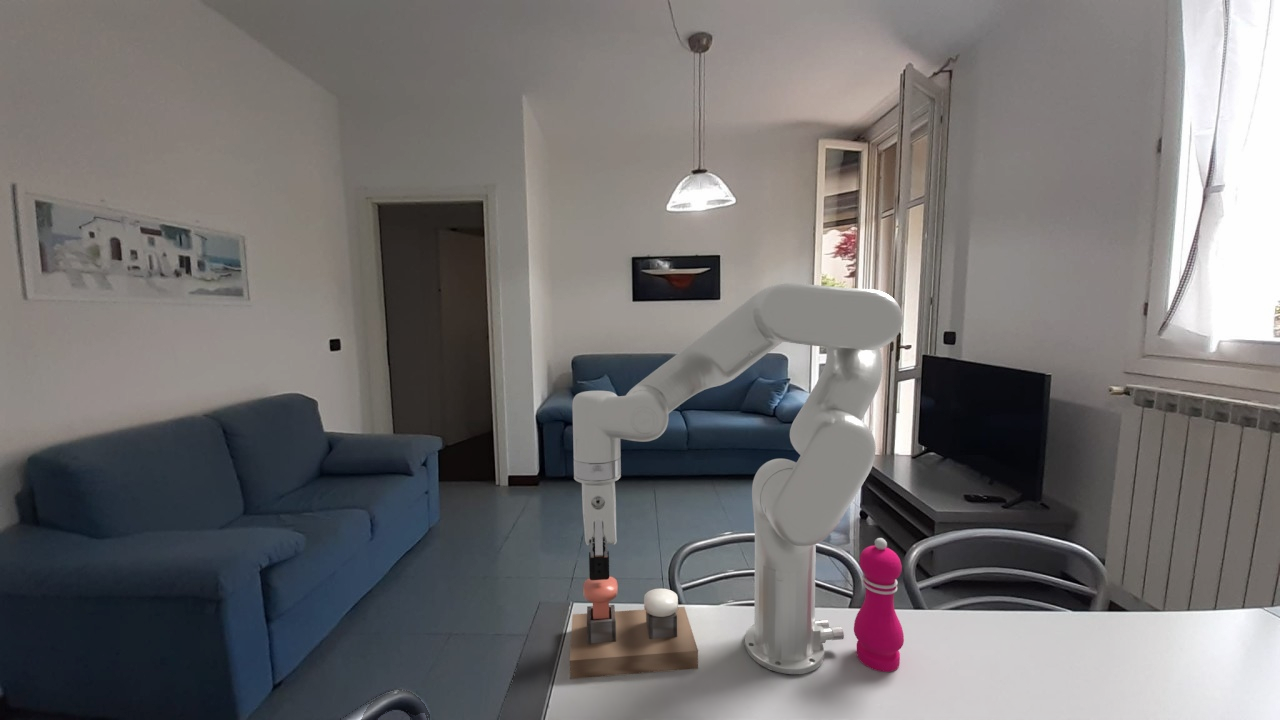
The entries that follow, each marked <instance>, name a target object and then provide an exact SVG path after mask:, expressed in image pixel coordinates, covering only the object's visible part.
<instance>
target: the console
mask: <svg viewBox="0 0 1280 720" xmlns="http://www.w3.org/2000/svg"><path fill="white" fill-rule="evenodd" d="M586 607H587V608H586V613H573V614H572V619H571V630H570V631H571V633H570V647H569V659H568V661H569V680H573V679H584V678H585V679H586V678H587V679H588V678H601V677H611V676H625V675H634V674H635V675H636V674H637V675H638V674H646V673H647V674H649V673H651V674H652V673H663V672H674V671H683V670H684V671H685V670H698V669H699V648H698V645H697V643H696V639H695V636H694V634H693V630H692V627H691V623H690V620H689V617H688V614H687V610H686V607H685V606H678V609H677V611H676V612H675V613H674V614H672V615H670V616H665V617H658V616H653V615H651V614H649V613H647V612H646V611H645V608H644V609H632V610H617V611H616V608H615V604H609V618H606V619H593V605H590V606H586Z"/></svg>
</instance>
